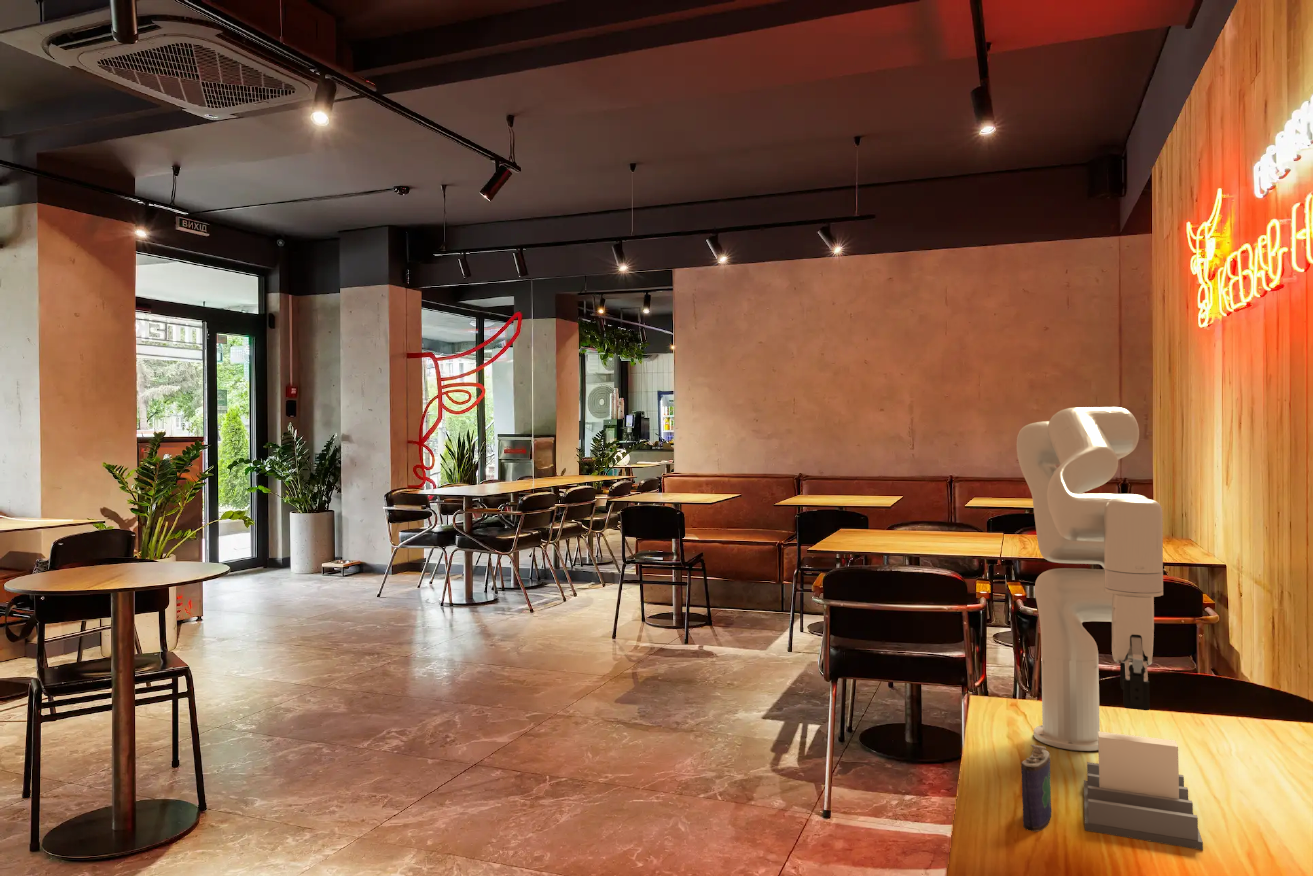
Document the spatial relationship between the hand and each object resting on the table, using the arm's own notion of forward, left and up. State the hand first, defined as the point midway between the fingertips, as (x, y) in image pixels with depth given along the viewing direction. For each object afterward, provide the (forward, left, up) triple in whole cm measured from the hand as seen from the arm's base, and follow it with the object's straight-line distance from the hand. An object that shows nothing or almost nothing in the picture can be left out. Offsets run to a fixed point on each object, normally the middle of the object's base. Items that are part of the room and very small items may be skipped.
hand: (1134, 699), depth 126 cm
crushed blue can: (+9, -13, -17) cm, 23 cm away
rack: (+1, 0, -17) cm, 17 cm away
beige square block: (0, 0, -16) cm, 16 cm away
